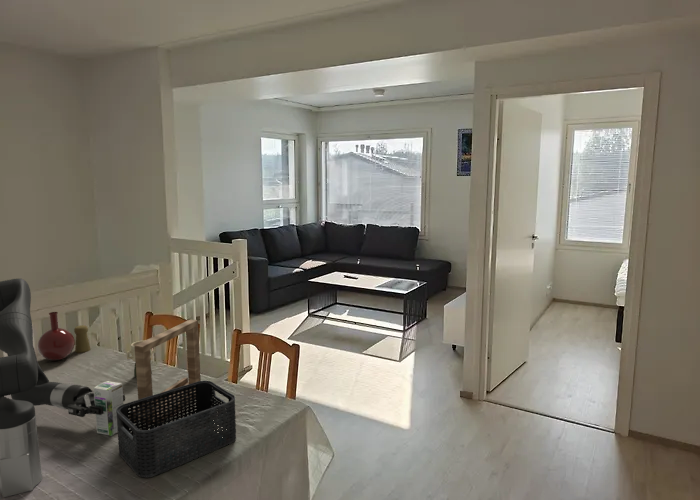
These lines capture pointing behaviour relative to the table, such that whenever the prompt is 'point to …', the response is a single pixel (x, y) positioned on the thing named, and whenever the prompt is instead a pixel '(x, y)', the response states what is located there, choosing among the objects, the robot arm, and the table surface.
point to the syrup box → (108, 406)
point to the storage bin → (175, 427)
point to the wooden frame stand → (145, 363)
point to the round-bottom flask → (55, 341)
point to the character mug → (134, 354)
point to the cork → (81, 339)
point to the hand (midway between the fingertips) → (113, 404)
